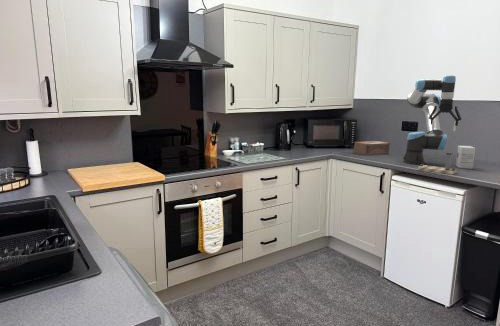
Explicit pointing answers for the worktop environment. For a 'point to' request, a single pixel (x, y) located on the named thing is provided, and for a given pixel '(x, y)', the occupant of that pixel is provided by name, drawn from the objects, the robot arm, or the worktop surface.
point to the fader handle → (448, 160)
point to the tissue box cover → (371, 148)
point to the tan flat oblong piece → (436, 169)
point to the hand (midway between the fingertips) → (443, 130)
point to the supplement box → (465, 157)
